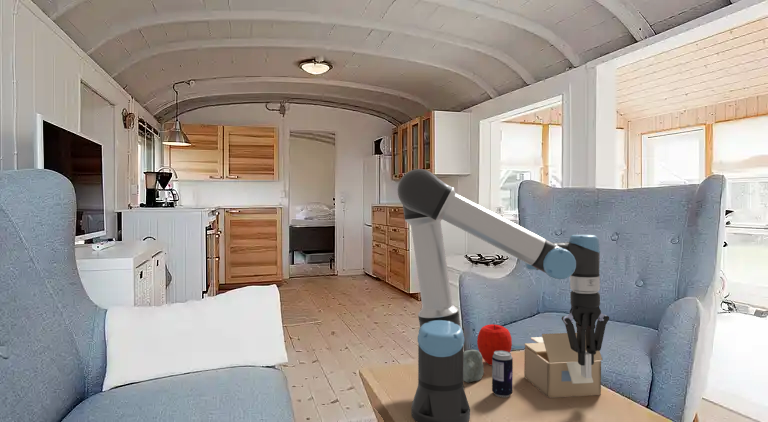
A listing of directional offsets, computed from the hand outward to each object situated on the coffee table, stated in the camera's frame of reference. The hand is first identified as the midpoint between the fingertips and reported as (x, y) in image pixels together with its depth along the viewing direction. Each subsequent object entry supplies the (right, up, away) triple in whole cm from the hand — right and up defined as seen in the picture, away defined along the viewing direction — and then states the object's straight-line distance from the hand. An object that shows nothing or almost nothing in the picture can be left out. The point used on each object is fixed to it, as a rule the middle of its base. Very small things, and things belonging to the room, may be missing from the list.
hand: (586, 376), depth 133 cm
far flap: (-3, +3, +20) cm, 20 cm away
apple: (-18, -7, +32) cm, 37 cm away
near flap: (-1, +4, +5) cm, 6 cm away
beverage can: (-22, -8, +6) cm, 24 cm away
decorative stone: (-30, -7, +20) cm, 37 cm away
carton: (-2, -7, +13) cm, 15 cm away
